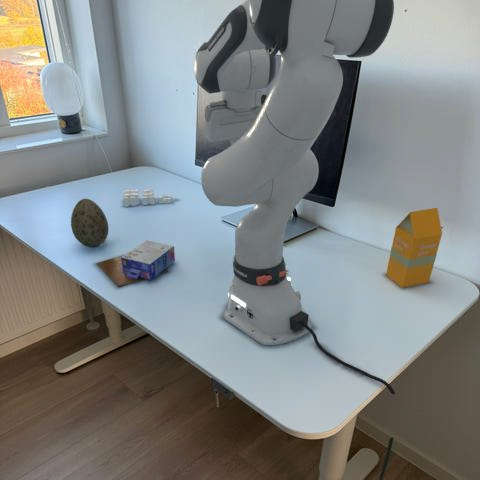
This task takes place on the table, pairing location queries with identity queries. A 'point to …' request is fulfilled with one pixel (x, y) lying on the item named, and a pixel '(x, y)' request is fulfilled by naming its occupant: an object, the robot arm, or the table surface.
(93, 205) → the decorative egg
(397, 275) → the orange juice
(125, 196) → the modular blocks
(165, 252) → the ink cartridge box
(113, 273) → the placemat
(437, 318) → the table surface
